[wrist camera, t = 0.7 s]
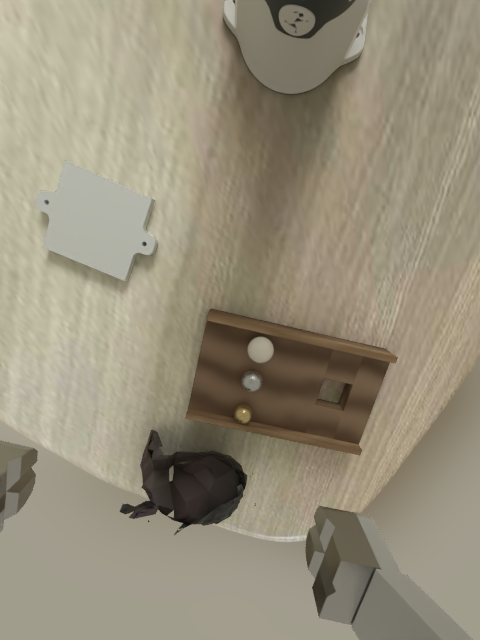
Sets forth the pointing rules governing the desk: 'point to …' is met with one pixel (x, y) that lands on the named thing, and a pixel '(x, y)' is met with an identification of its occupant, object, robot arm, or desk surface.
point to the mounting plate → (97, 221)
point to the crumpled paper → (189, 485)
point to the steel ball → (251, 381)
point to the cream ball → (260, 349)
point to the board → (287, 382)
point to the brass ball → (243, 413)
